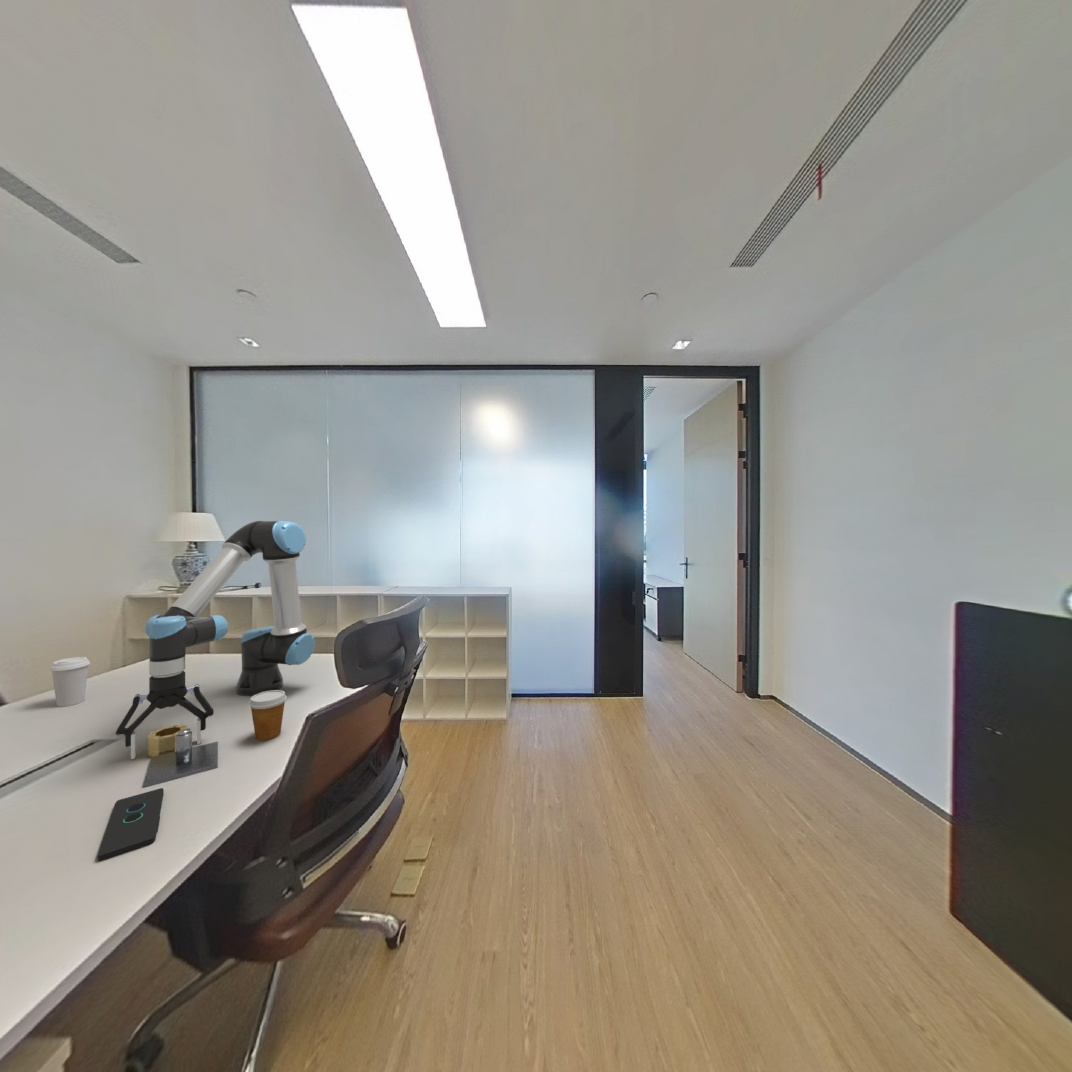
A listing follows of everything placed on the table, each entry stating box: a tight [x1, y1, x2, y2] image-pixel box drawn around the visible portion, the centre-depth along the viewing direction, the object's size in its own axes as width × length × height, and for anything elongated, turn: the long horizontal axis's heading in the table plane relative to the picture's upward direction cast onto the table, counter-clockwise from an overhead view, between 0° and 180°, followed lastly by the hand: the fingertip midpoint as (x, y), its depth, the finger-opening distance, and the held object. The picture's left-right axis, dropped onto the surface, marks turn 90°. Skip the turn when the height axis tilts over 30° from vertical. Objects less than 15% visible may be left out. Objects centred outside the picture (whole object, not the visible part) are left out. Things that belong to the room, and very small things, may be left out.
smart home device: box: [97, 787, 165, 862], centre depth 88 cm, size 8×2×20 cm
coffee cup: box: [49, 656, 91, 708], centre depth 146 cm, size 10×10×15 cm
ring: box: [147, 724, 188, 758], centre depth 117 cm, size 8×8×5 cm
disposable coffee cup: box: [248, 689, 288, 741], centre depth 125 cm, size 10×10×12 cm
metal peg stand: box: [143, 728, 219, 788], centre depth 109 cm, size 14×14×9 cm
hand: (167, 749), depth 116 cm, fingers open, 13 cm apart
